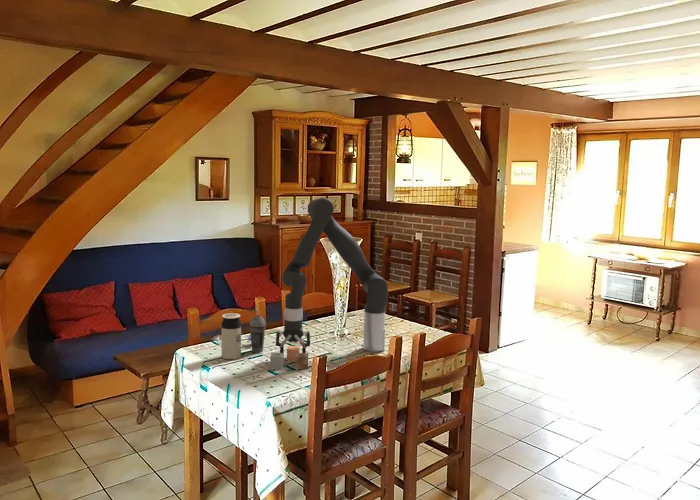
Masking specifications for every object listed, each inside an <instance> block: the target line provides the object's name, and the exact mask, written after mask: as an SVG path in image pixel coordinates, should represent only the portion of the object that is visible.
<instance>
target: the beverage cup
mask: <svg viewBox="0 0 700 500" xmlns="http://www.w3.org/2000/svg"><path fill="white" fill-rule="evenodd" d="M255 311H256V312H255V313H256V316H253V317H252V318H251V319H250V321H249V325H248V327H249V331H250V332H251V333H250V332H249V333H250V335H251V341H250V345H251V349H252V350H251V351H252V353H253V354H255V353H256V354H259V353H263V351H264V346H265V345H264V343H265V335H266V334H265V332H266V327H267V323H266V320H265V319H264V317H262V316H260V315H258V305H256V308H255Z"/></svg>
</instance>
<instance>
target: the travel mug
mask: <svg viewBox="0 0 700 500" xmlns="http://www.w3.org/2000/svg"><path fill="white" fill-rule="evenodd" d="M221 315H222V316H221V317H222V322H221V323H220V324H221V325H220V326H221V358H222V359H224V360H227V359H233V360H237V359H239V358H241V357H242V322H241V320H240V318H241V314H240V313H235V312H234V313H233V312H229V313H224V314H221Z"/></svg>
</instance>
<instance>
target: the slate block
mask: <svg viewBox="0 0 700 500" xmlns="http://www.w3.org/2000/svg"><path fill="white" fill-rule="evenodd" d="M284 354H285V353H280V352H271V353H270V357H269V359H270V360H269V368H270V369H271V370H272V369H273V370H274V369H275V370H283V369H284V364H285V363H284V362H285V361H284V360H285V357H284V356H285V355H284Z"/></svg>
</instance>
